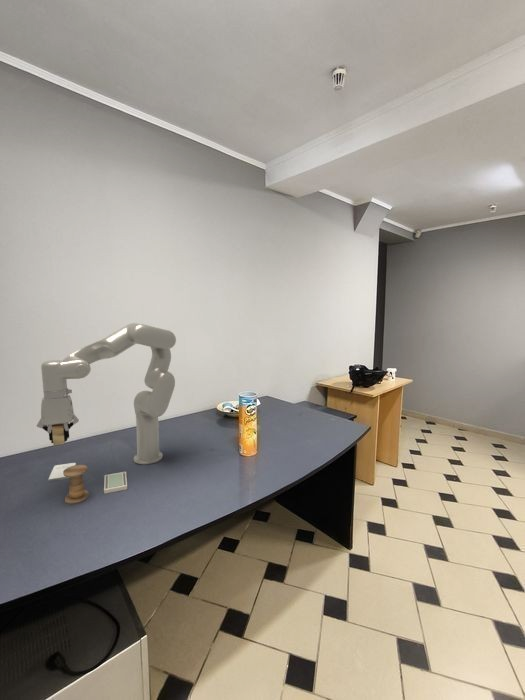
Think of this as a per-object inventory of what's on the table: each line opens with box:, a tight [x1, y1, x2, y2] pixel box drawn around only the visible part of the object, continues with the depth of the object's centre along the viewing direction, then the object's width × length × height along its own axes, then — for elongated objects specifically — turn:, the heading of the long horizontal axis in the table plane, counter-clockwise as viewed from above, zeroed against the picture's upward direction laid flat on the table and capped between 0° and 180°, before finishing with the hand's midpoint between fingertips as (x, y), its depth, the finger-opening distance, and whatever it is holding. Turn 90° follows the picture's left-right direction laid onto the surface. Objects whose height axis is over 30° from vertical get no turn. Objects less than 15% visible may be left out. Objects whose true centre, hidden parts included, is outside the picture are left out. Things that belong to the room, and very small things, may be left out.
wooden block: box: [52, 424, 66, 446], centre depth 126 cm, size 4×4×7 cm
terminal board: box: [103, 471, 128, 495], centre depth 132 cm, size 12×8×2 cm, turn 24°
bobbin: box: [63, 464, 90, 505], centre depth 121 cm, size 8×8×11 cm
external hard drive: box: [47, 462, 77, 483], centre depth 139 cm, size 2×8×12 cm
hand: (59, 440), depth 126 cm, fingers closed on wooden block, 3 cm apart
